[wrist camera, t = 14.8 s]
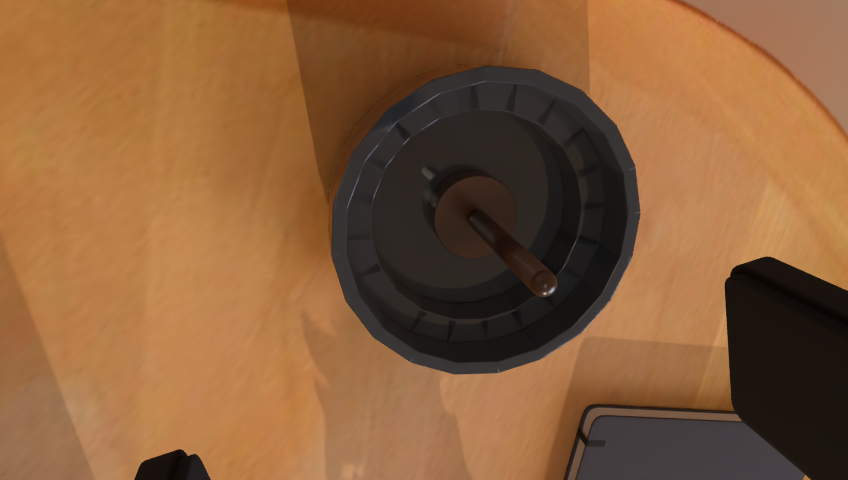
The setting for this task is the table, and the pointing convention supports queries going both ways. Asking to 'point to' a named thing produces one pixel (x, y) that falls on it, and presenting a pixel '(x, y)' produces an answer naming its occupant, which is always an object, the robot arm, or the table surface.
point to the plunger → (484, 226)
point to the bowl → (535, 228)
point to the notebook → (672, 447)
